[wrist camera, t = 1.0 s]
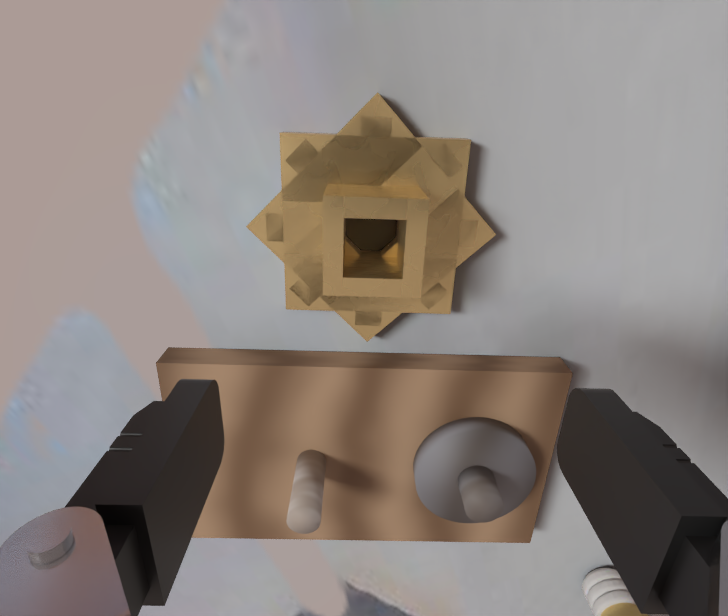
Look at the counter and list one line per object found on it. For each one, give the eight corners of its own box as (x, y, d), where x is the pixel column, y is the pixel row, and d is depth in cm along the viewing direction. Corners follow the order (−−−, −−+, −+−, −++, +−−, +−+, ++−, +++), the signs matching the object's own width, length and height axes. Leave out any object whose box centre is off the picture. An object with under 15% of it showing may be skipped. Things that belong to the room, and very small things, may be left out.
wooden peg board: (559, 357, 31) (613, 423, 24) (521, 521, 36) (556, 608, 30) (168, 347, 30) (116, 412, 23) (194, 515, 36) (158, 603, 29)
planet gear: (509, 98, 24) (545, 95, 20) (474, 335, 30) (495, 376, 25) (242, 88, 24) (214, 82, 19) (257, 330, 29) (239, 370, 25)
